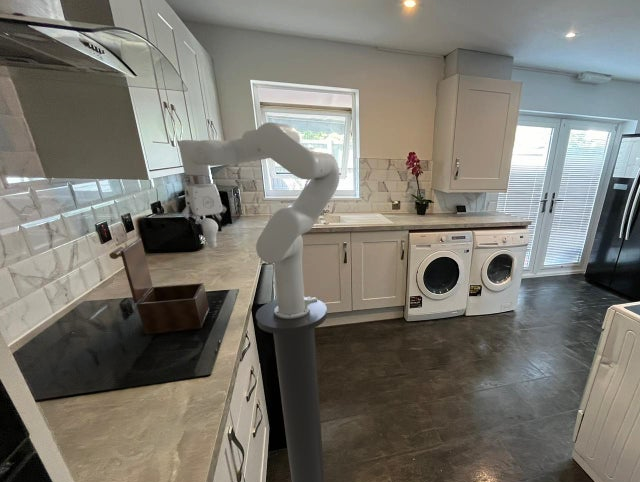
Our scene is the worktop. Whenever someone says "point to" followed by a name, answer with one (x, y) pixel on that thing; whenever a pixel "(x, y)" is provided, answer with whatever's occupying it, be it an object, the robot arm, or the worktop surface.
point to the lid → (135, 268)
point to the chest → (173, 308)
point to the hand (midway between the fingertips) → (209, 232)
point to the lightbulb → (209, 231)
